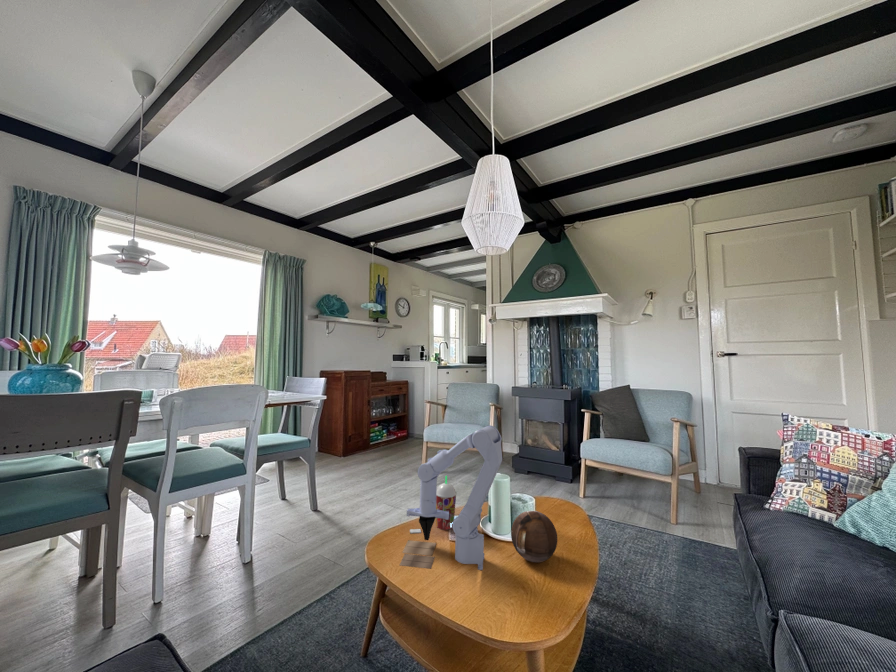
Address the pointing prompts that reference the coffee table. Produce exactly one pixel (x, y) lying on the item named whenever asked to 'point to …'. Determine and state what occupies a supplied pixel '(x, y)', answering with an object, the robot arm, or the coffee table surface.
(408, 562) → the laid board
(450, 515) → the smoothie
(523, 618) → the coffee table surface
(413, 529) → the light grey block
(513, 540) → the wooden sphere
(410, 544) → the board
